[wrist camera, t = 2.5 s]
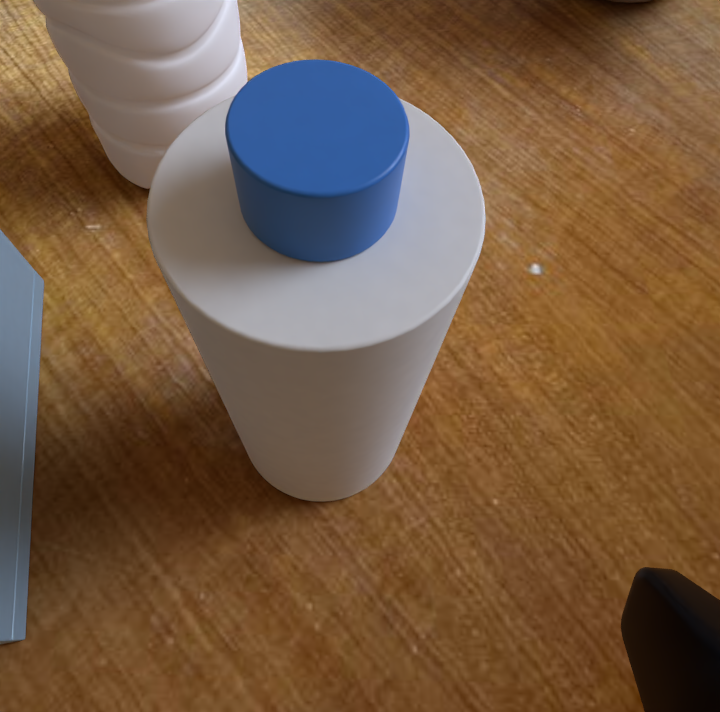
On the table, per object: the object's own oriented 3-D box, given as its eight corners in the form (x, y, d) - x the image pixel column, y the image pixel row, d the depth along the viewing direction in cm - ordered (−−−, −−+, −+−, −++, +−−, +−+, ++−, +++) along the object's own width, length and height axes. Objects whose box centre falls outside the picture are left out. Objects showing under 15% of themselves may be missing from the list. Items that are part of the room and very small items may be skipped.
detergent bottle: (415, 487, 20) (570, 265, 7) (250, 515, 19) (111, 323, 7) (384, 341, 22) (461, -18, 10) (235, 361, 21) (110, 2, 9)
